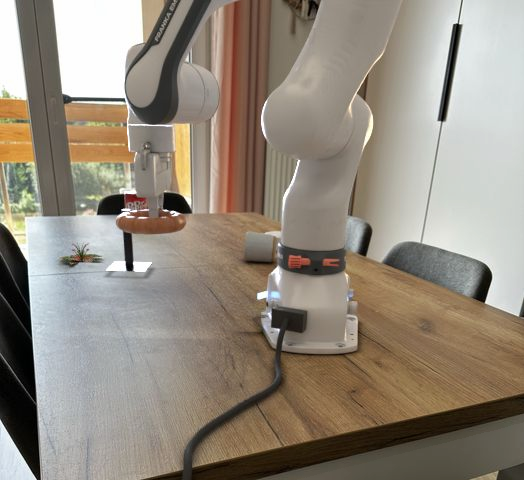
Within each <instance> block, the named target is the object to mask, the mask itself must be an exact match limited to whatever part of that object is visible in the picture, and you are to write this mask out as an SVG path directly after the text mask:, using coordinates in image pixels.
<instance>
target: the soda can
mask: <svg viewBox="0 0 524 480" xmlns="http://www.w3.org/2000/svg"><path fill="white" fill-rule="evenodd" d="M123 195H124V197H123V198H124V209H129V210H131V211H136V210H148V205H147V202H146V198H144V197H137V195H136V191H135V190H127V191H124V194H123Z"/></svg>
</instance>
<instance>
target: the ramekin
mask: <svg viewBox="0 0 524 480" xmlns="http://www.w3.org/2000/svg"><path fill="white" fill-rule="evenodd" d="M264 234H270V235H273V236H276V238H277V245H276V252H277V250H278V244H279V243H280V242H281V231H280V230H279V231H278V230H277V231H275V230H274V231H266V232H264Z"/></svg>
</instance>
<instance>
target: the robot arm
mask: <svg viewBox="0 0 524 480" xmlns="http://www.w3.org/2000/svg"><path fill="white" fill-rule="evenodd" d="M238 1H240V0H166V1H165V4H164V6H163V8H162V10H161V12H160V14H159V16H158V18H157V20H156V22H155V24H154V26H153V29H152V31H151V33H150V35H149V36H148V39H147V40H146V42H141V43H137V44H135V45H133V46H131V47H130V48H128V49H127V51H126V55H125V60H124V66H123V67H124V68H123V69H124V70H123V90H124V99H125V102H126V106H127V112H128V116H127V120H126V122H127V123H126V127H127V140H128V151H129V152H131V153H135V155H134V160H133V161H134V164H133V165H134V167H133V168H134V170H133V171H134V191H136V195H137V197H144V198H146V202H147V210H149V217H150V218H155V217H159V210H164V207H163V206H164V197H165V196H164V194H165V193H164V192H166V191H168V190H169V189H170V188H171V186H172V181H173V179H172V178H173V153H176V152H177V145H176V124H178V125H186V124H187V125H198V124H203V123H206V122H208V121H210V120H211V119H212V118H213V117H214V116H215V115H216V113H217V111H218V108H219V104H220V99H221V94H220V93H221V92H220V86H219V83H218V80H217V78H216V76H215V75H214V73H213V72H212V71H211V70H209V69H207V68H205V67H203V66H201V65H198V64H196V63H193V62H190V61H188V60H187V58H188V56H189V54H190V53H191V50H192V48H193V47H194V45H195V42H196V41H197V39H198V37H199V35H200V34H201V31H202V29H203V27H204V25H205V24H206V22H207V21H208V20H209V18H210V17H211V16H212V15H213V14H215V12H217V11H218V10H219V9H221V8H223V7H225V6H227V5H230V4H232V3H235V2H238ZM403 1H404V0H320V2H319V7H318V9H317V12H316V16H315V19H314V22H313V25H312V27H311V29H310V32H309V35H308V37H307V39H306V41H305V43H304V45H303V47H302V49H301V51H300V53H299V54H298V57H297V58H296V60H295V62H294V63H293V66H292V67H291V70H290V71H289V73H288V74H287V75H286V78H285V79H284V80H283V81H282V83H281V84H280V85H278V86H277V87H276V88H275V89H274V90H273V91H272V92H271V93H270V95H269V96H268V97H267V99H266V101H265V103H264V106H263V108H262V112H261V128H262V133H263V135H264V139H265V140H266V142H267V143H268V145H269V146H270V147H271V148H272V149H273V150H274V151H276V152H277V153H279V154H281V155H283V156H284V157H287V158H290V159H293V160H297V165H296V168H295V172H294V175H293V178H292V180H291V182H290V185H289V186H288V187H287V189H286V191H285V193H284V195H283V199H282V207H281V208H282V210H281V228H280V229H281V230H280V232H281V242H280V243H279V244H278V250H277V251H276V263H277V266H276V268H275V269H274V270H273V271H271V272H270V273H269V274H268V277H267V286H266V291H263V292H258V293H257V300H262V299H264V298H266V299H265V300H266V303H265V310H264V311H260V328H261V332H262V333H263V335H264V337H265V338H266V340H267V342H268V344H269V345H270V347H271V348H272V349H274V350H275V353H274V362H273V363H274V364H273V365H274V366H273V367H274V372H275V378H274V380H273V382H271V384H269V386H268V387H266V388H264V389H262V390H261V391H259V392H257V393H255V394H253V395H252V396H249V397H248V398H245V399H244V400H241V401H240V402H238V403H236V404H235V405H233V406H231V408H229V409H228V410H226V411H225V412H223V413H221V414H220V415H218V416H217V417H215V418H213V419H212V420H210V421H209V422H207V423H206V424H204V426H202V427H201V428H200V429H199V430H198V431H197V432H196V433H195V434H194V435H193V436H192V437H191V439H190V440H189V441H188V443H187V445H186V447H185V449H184V452H183V461H182V462H183V463H182V464H183V467H182V477H181V480H192V477H193V454H194V451H195V449H196V448H197V446H198V444H199V443H200V442H201V441H202V439H203V438H204V437H206V435H208V434H209V433H210V432H211V431H213V430H214V429H215V428H217V427H218V426H220V425H221V424H223V423H224V422H226V421H227V420H229V419H231V418H232V417H233V416H235V415H237V414H238V413H239V412H242V410H244V409H246V408H247V407H249V406H251V405H252V404H255V403H257V402H259V401H261V400H262V399H264V398H266V397H268V396H270V395H271V394H272V393H273V392H274V391H275V390H276V389H277V388H278V387H279V386H280V384H281V382H282V380H283V373H282V369H281V359H282V352H288V353H296V354H307V355H308V354H310V355H336V354H337V355H338V354H339V355H340V354H348V353H353V352H356V351H357V350H358V328H359V318H358V316H356V315H357V313H358V306H359V305H358V303H359V302H358V301H354V300H349V298H352V297H354V295H355V288H350V283H351V277H350V276H349V275H348V274H347V273H346V272H345V270H346V268H347V267H346V266H347V260H348V259H347V258H348V255H347V246H346V245H345V243H346V235H347V234H346V232H347V224H348V217H349V206H350V199H351V195H352V191H353V188H354V183H355V181H356V176H357V173H358V170H359V166H360V163H361V159H362V155H363V152H364V149H365V146H366V144H367V143H368V141H369V140H370V138H371V136H372V132H373V127H374V118H373V117H374V116H373V112H372V110H371V108H370V106H369V105H368V103H367V102H366V101H365V99H364V98H362V97H361V96H360V94H358V92H359V90H360V88H361V86H362V84H363V83H364V81H365V79H366V78H367V75H368V73H369V72H370V71H371V69H372V68H373V67H374V65H375V64H376V63H377V62H378V61H379V59H381V57H382V56H383V54H384V53H385V51H386V48H387V45H388V43H389V40H390V37H391V35H392V31H393V28H394V27H395V23H396V21H397V17H398V15H399V12H400V9H401V6H402V3H403Z"/></svg>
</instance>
